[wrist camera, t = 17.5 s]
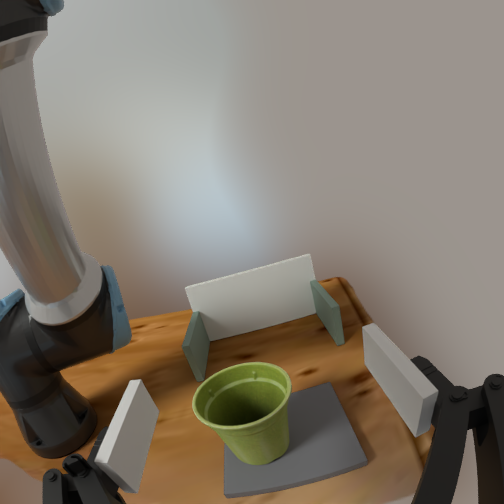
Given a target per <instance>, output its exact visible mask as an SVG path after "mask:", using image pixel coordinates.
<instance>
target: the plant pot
mask: <svg viewBox="0 0 504 504" xmlns="http://www.w3.org/2000/svg"><path fill="white" fill-rule="evenodd" d="M291 390H292V385H291V380H290V377H289V375H288V374H287V373H286V372H285V371H284V370H283V369H282V368H280V367H278V366H276V365H273V364H270V363H263V362H249V363H242V364H238V365H234V366H231V367H228V368H226V369H223V370H221V371H219V372H217V373H215V374H214V375H212V376H211V377H209V378H208V379H207V380H205V381H204V382H203V383H202V384H201V385H200V386H199V388H198V389H197V391H196V392H195V394H194V397H193V402H192V407H193V411H194V413H195V415H196V416H197V418H198V419H199V420H200V421H201V422H202V423H204V424H205V425H207V426H209V427H210V428H212V429H213V430H215V431H216V432H217V434H218V435H219V436H220V437H221V438H222V440H223V441H224V442H225V443H226V445H227V446H228V447H229V448H230V449H231V451H232V452H233V453H234V454H235V455H236V456H237V458H239V459H240V460H241V461H243V462H244V463H247V464H251V465H264V464H268V463H270V462H271V461H273V460H275V459H277V458H278V457H281V456H282V455H283V454H284V453H285V452H286V450H287V449H288V446H289V428H288V414H287V405H288V400H289V398H290V396H291Z"/></svg>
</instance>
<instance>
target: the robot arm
mask: <svg viewBox="0 0 504 504" xmlns="http://www.w3.org/2000/svg"><path fill="white" fill-rule="evenodd" d="M63 7H64V1H63V0H0V248H1V250H2V251H3V253H4V255H5V257H6V259H7V260H8V262H9V264H10V265H11V267H12V268H13V270H14V272H15V273H16V275H17V277H18V278H19V280H20V281H21V283H22V284H23V286H24V287H25V289H26V292H25V293H24V292H23V291H22V290H21V289H17V290H15V291H14V292H13V293H11V294H9V295H8V296H6V297H5V298H3V299H2V300H0V392H1V393H2V395H3V396H4V398H5V399H6V401H7V402H8V404H9V405H10V407H11V409H12V410H13V413H14V415H15V418H16V420H17V423H18V425H19V428H20V430H21V433H22V435H23V437H24V439H25V441H26V443H27V444H28V445H29V447H30V448H31V449H32V450H33V451H34V452H35V453H36V454H37V455H39V456H41V457H44V458H57V457H61V456H64V455H67V454H69V453H71V452H73V451H74V450H76V449H77V448H79V447H80V446H81V445H82V444H84V443H85V442H86V440H87V439H88V438H89V437H90V435H91V434H92V432H93V431H94V428H95V426H96V422H97V416H96V412H95V410H94V409H93V407H92V406H91V404H90V403H89V402H88V400H87V399H86V398H85V397H83V396H82V395H81V394H80V393H79V392H78V391H77V390H75V389H74V388H73V387H72V386H71V385H70V384H69V383H68V382H67V381H66V380H65V379H64V378H63V377H62V375H61V373H60V372H59V371H61V370H63V369H66V368H69V367H72V366H75V365H77V364H80V363H83V362H86V361H89V360H92V359H94V358H97V357H100V356H103V355H106V354H111V353H113V352H115V350H117V349H119V348H122V347H124V346H126V345H127V344H129V342H130V341H131V337H132V333H131V328H130V324H129V321H128V317H127V314H126V311H125V308H124V304H123V300H122V296H121V293H120V289H119V286H118V283H117V279H116V276H115V273H114V270H113V268H112V267H111V266H100V265H99V264H98V262H97V260H96V259H95V258H93V256H91V255H89V254H87V253H85V252H81V250H80V248H79V245H78V243H77V241H76V238H75V235H74V233H73V230H72V227H71V225H70V222H69V219H68V217H67V214H66V211H65V208H64V205H63V202H62V199H61V196H60V193H59V190H58V187H57V183H56V180H55V177H54V173H53V170H52V166H51V162H50V159H49V155H48V151H47V147H46V142H45V138H44V133H43V129H42V125H41V119H40V113H39V108H38V102H37V96H36V89H35V80H34V71H33V61H32V59H33V55H34V53H35V51H36V50H37V48H38V47H39V46H40V44H41V43H42V42H43V40H44V39H45V38H46V36H47V35H48V32H47V19H48V16H54V15H56V13H58V12H60V11H61V10H62V9H63ZM362 331H363V344H364V359H365V365H366V366H367V368H368V369H369V371H370V372H371V374H372V375H373V376H374V378H375V379H376V381H377V382H378V384H379V385H380V386H381V388H382V389H383V391H384V392H385V394H386V395H387V397H388V398H389V400H390V401H391V402H392V404H393V405H394V407H395V408H396V410H397V411H398V413H399V414H400V416H401V417H402V419H403V420H404V422H405V423H406V424H407V426H408V427H409V429H410V430H411V432H412V433H413V435H414V436H415V438H416V437H417V436H419V435H421V434H423V433H425V432H427V431H429V429H430V425H431V423H432V425H433V426H434V427H435V430H434V434H433V437H432V442H431V446H430V450H429V453H428V457H427V460H426V464H425V467H424V470H423V473H422V476H421V479H420V482H419V485H418V487H417V490H416V493H415V495H414V498H413V501H412V503H411V504H451V502H452V499H453V496H454V492H455V489H456V485H457V481H458V476H459V472H460V468H461V463H462V458H463V453H464V448H465V441H466V435H467V430H469V429H472V430H473V437H474V445H475V452H476V462H477V475H478V496H479V497H478V501H479V502H478V503H479V504H504V376H503V375H500V374H492V375H490V376H488V377H487V378H486V379H485V381H484V384H483V385H482V386H479V387H476V388H473V389H467V388H465V387H462V386H454V385H453V384H452V383H451V382H450V381H449V380H448V379H447V378H446V377H445V376H444V375H443V374H442V373H441V372H440V371H438V370H437V368H436V367H435V366H433V365H432V363H430V361H429V360H427V359H425V358H423V357H421V356H417V357H415V358H413V359H411V360H409V358H408V357H407V356H406V355H405V354H404V353H403V352H402V351H401V350H400V349H399V348H398V347H397V346H396V345H395V344H394V343H393V342H392V341H391V340H390V339H389V338H388V336H387V335H386V334H385V333H384V332H383V331H382V330H380V328H379V327H378V326H377V325H376V324H375V323H372V324H369V325H366V326H363V327H362ZM158 414H159V410H158V408H157V407H156V405H155V403H154V402H153V400H152V398H151V396H150V395H149V393H148V391H147V389H146V388H145V386H144V384H143V382H142V380H141V379H139V380H130V382H129V384H128V386H127V389H126V391H125V393H124V395H123V397H122V399H121V401H120V404H119V406H118V408H117V410H116V412H115V415H114V417H113V419H112V421H111V423H110V426H109V427H104V428H103V429H102V430H101V432H100V433H99V435H98V437H97V439H96V440H97V441H95V443H94V446H93V448H92V450H91V452H90V455H89V457H88V459H87V461H86V460H85V459H84V458H83V457H82V456H81V455H80V454H71V455H69V456H67V457H66V458H65V460H64V461H63V464H62V466H63V468H64V469H65V470H66V471H67V472H68V473H69V474H62V473H61V472H60V471H59V470H58V469H50V470H48V471H47V472H46V473H45V474H44V476H43V504H126V503H125V501H124V499H123V498H122V496H121V495H120V494H119V493H118V492H117V491H118V488H119V487H120V488H121V489H122V490H123V491H124V492H127V493H138V490H139V486H140V482H141V478H142V474H143V470H144V466H145V462H146V458H147V455H148V451H149V447H150V443H151V440H152V436H153V432H154V429H155V425H156V422H157V418H158Z"/></svg>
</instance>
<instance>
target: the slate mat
mask: <svg viewBox="0 0 504 504" xmlns="http://www.w3.org/2000/svg"><path fill="white" fill-rule="evenodd" d="M287 414H288V428H289V446H288V449H287V450H286V452H285V453H284V454H283V455H282V456H281V457H278V458H277V459H275V460H273V461H271V462H270V463H268V464H264V465H251V464H247V463H244V462H243V461H241V460H240V459H239V458H237V456H236V455H235V454H234V453H233V452H232V451H231V449H230V448H229V447H228V446H227V445H226V443H225V448H224V495H225V496H226V498H235V497H244V496H251V495H258V494H264V493H269V492H275V491H280V490H285V489H289V488H294V487H298V486H302V485H306V484H310V483H314V482H317V481H321V480H324V479H328V478H331V477H334V476H337V475H340V474H343V473H346V472H349V471H352V470H355V469H358V468H360V467H363V466H366V465H367V461H368V460H367V458H366V456H365V454H364V452H363V449H362V447H361V445H360V443H359V441H358V439H357V437H356V435H355V433H354V431H353V429H352V426H351V424H350V422H349V420H348V418H347V416H346V414H345V412H344V410H343V408H342V406H341V404H340V402H339V400H338V397H337V395H336V393H335V391H334V389H333V387H332V385H331V383H330V382H327V383H324V384H321V385H318V386H315V387H311V388H308V389H305V390H301V391H298V392H294V393H291V396H290V398H289V400H288V405H287Z"/></svg>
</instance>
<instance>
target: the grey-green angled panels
mask: <svg viewBox="0 0 504 504" xmlns="http://www.w3.org/2000/svg"><path fill="white" fill-rule="evenodd" d="M185 290H186V293H187V296H188V299H189V302H190V305H191V308H192V310H193V314H192V317H191V320H190V323H189V326H188V329H187V332H186V335H185V339H184V342H183V345H182V349H183V351H184V353H185V356H186V358H187V360H188V363H189V365H190V367H191V369H192V372H193V374H194V376H195V378H196V380H197V382H200V381H204V379H205V372H206V365H207V358H208V352H209V345H210V341H214V340H218V339H222V338H227V337H231V336H235V335H239V334H243V333H247V332H251V331H255V330H259V329H263V328H266V327H270V326H274V325H277V324H281V323H285V322H288V321H292V320H295V319H298V318H302V317H305V316H309V315H312V314H315V313H316V314H317V315H318V317H319V318H320V320H321V321H322V323H323V324H324V326H325V327H326V329H327V330H328V332H329V333H330V335H331V336H332V338H333V339H334V341H335V343H336V344H337V346H339V345H342V344H345V342H344V335H343V328H342V321H341V315H340V308H339V305H338V304H337V303H336V301H335V300H334V299H333V298H332V297H331V296H330V295H329V294H328V293H327V292H326V290H325V289H324V288H323V287H322V286H321V285H320V284H319V283H318V282H317V281H316V279H315V274H314V270H313V265H312V261H311V255H310V254H306V255H303V256H299V257H295V258H292V259H288V260H284V261H281V262H277V263H273V264H270V265H266V266H262V267H259V268H255V269H252V270H248V271H244V272H240V273H236V274H233V275H229V276H225V277H221V278H218V279H214V280H210V281H207V282H202V283H199V284H195V285H191V286H187V287H186V288H185Z"/></svg>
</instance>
